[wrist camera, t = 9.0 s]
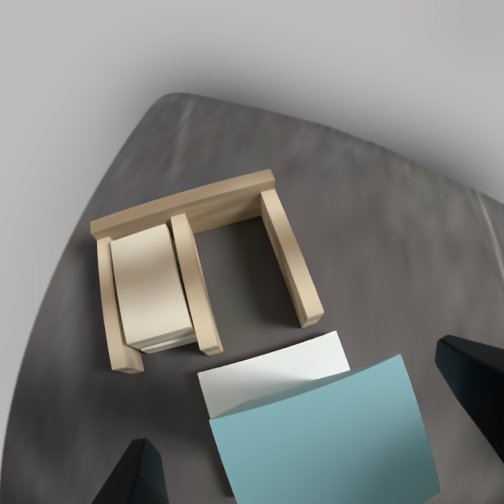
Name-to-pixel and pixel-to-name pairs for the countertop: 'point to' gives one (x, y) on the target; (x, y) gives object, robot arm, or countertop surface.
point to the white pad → (272, 373)
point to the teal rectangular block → (331, 442)
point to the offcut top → (150, 288)
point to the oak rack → (182, 231)
